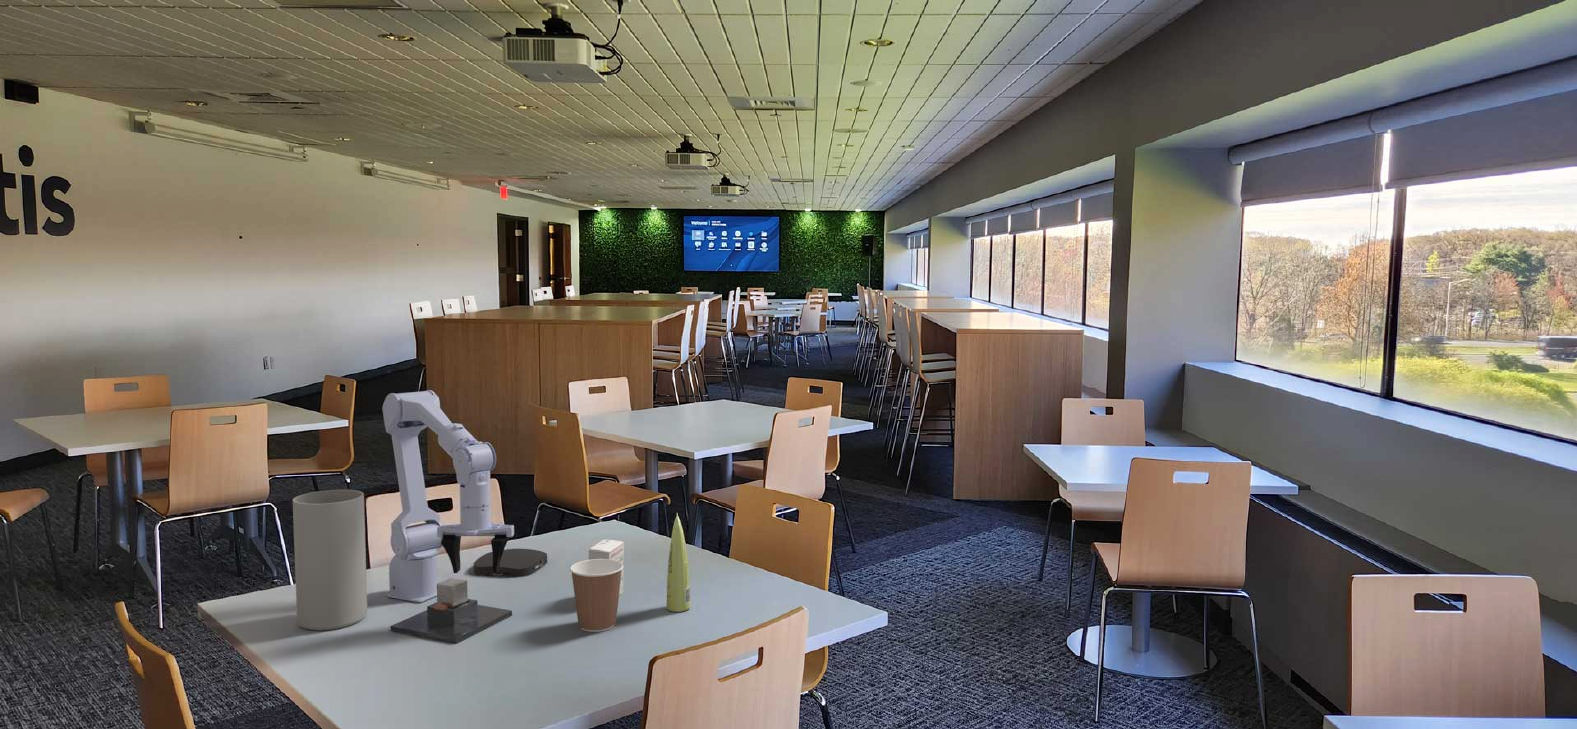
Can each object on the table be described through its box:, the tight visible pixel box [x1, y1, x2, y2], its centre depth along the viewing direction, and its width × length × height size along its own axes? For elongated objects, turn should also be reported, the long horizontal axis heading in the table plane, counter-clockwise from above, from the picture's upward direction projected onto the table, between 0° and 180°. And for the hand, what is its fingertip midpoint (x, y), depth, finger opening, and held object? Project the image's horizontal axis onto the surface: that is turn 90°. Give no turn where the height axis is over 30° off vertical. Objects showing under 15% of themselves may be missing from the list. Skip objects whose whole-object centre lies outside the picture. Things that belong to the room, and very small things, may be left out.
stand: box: [390, 598, 513, 644], centre depth 179 cm, size 16×16×5 cm
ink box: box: [588, 539, 625, 597], centre depth 193 cm, size 9×5×12 cm, turn 168°
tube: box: [666, 512, 691, 613], centre depth 188 cm, size 6×5×20 cm
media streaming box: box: [473, 548, 548, 578], centre depth 215 cm, size 15×15×3 cm
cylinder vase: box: [292, 489, 368, 631], centre depth 179 cm, size 12×12×25 cm
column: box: [436, 577, 469, 609], centre depth 178 cm, size 4×4×7 cm
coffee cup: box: [569, 559, 624, 633], centre depth 178 cm, size 10×10×12 cm
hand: (476, 571), depth 180 cm, fingers open, 7 cm apart
